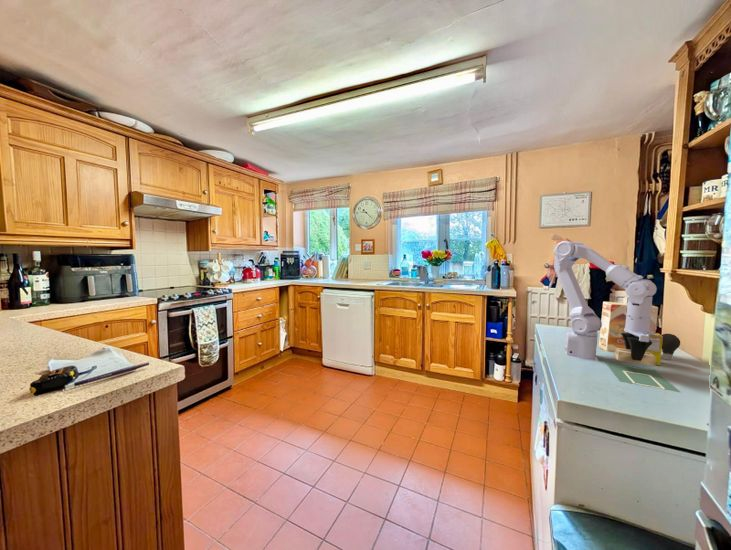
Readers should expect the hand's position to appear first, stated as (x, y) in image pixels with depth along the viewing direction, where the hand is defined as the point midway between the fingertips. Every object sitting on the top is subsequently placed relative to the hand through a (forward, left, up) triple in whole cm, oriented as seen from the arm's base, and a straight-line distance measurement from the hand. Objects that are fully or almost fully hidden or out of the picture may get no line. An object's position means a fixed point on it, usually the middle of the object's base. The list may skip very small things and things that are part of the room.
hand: (633, 357), depth 95 cm
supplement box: (+7, +13, -5) cm, 16 cm away
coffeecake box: (+4, +24, -5) cm, 25 cm away
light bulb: (+15, +21, -5) cm, 26 cm away
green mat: (0, -5, -5) cm, 7 cm away
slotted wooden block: (0, 0, -1) cm, 1 cm away
